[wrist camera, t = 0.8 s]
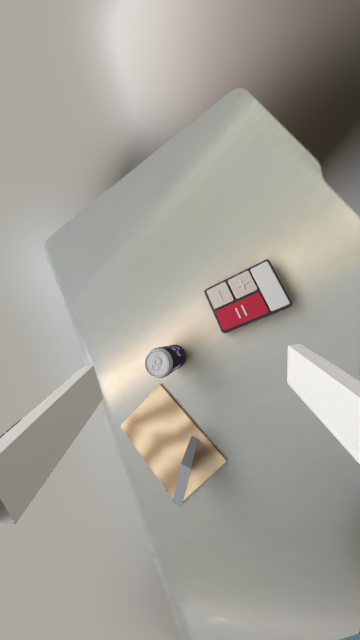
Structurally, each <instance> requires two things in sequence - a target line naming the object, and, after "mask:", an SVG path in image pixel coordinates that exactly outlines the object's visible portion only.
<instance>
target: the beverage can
mask: <svg viewBox="0 0 360 640" xmlns="http://www.w3.org/2000/svg"><path fill="white" fill-rule="evenodd" d="M185 360H186V353H185V351H184V349H183V348H182V347H180V346H178V345H170V346H165V347H159V348H155V349H153V350H152V351H151V352H150V353H149V354H148V355H147V357H146V360H145V367H146V370H147V371H148V373H149V374H150V375H152V376H154V377H159V378H162V377H166V376H167V375H169V374H170V373H172V372H173V371H175V370H176V369H178V368H179V367H181V366H182V365H183V364H184V363H185Z"/></svg>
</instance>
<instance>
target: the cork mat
mask: <svg viewBox="0 0 360 640" xmlns="http://www.w3.org/2000/svg"><path fill="white" fill-rule="evenodd" d="M121 428H122V429H123V430H124V432H125V433H126V435H127V436H128V437H129V439H130V440H131V441H132V443H133V444H134V446H135V447H136V448H137V450H138V451H139V452H140V454H141V455H142V457H143V458H144V459H145V461H146V462H147V463H148V465H149V466H150V468H151V469H152V470H153V472H154V473H155V475H156V476H157V477H158V479H159V480H160V481H161V483H162V484H163V486H164V487H165V488H166V490H167V491H168V492H169V494H170V495H171V497H172V498H173V496H174V492H175V488H176V483H177V479H178V475H179V470H180V466H181V462H182V460H183V457H184V454H185V452H186V449H187V446H188V443H189V441H190V438H191V436H193V437H195V438H197V439H199V440H198V444H197V449H196V453H195V458H194V462H193V466H192V470H191V474H190V478H189V481H188V485H187V489H186V492H185V496H184V500H185V499H186V498H187V497H188V496H189V495H190V494H191V493H192V492H193V491H195V490H196V489H197V488H198V487H199V486H200V485H201V484H202V483H203V482H205V481H206V480H207V479H208V478H209V477H210V476H211V475H212V474H213V473H214V472H216V471H217V470H218V469H219V468H220V467H221V466H222V465H223V464H224V463H226V459H225V457H224V456H223V455H222V454H221V453H220V452H219V451H218V449H217V448H216V447H215V446H214V445H213V444H212V442H211V441H210V440H209V439H208V438H207V437H206V436H205V434H204V433H203V432H202V431H201V430H200V429H199V428H198V426H197V425H196V424H195V423H194V422H193V421H192V419H191V418H190V417H189V416H188V415H187V414H186V413H185V411H184V410H183V409H182V408H181V407H180V406H179V404H178V403H177V402H176V401H175V400H174V399H173V398H172V396H171V395H170V394H169V393H168V392H167V391H166V389H165V388H164V387H163V386H162V385H161V384H160V385H159V386H158V387H157V388H156V389H155V390H154V391H153V392H152V393H151V394H150V395H149V396H148V398H147V399H146V400H145V401H144V402H143V403H142V404H141V405H140V406H139V407H138V408H137V409H136V410H135V411H134V412H133V413H132V414H131V416H130V417H129V418H128V419H127V420H126V421H125V422H124V423H123V424H122V425H121Z"/></svg>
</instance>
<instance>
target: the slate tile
mask: <svg viewBox="0 0 360 640" xmlns="http://www.w3.org/2000/svg"><path fill="white" fill-rule="evenodd" d="M198 440H199V439H197V438H195V437H193V436H191V438H190V441H189V443H188V446H187V449H186V452H185V454H184V457H183V460H182V462H181V466H180V470H179V475H178V479H177V483H176V488H175V492H174V496H173V501H172V502H173V503H175V504H177V505H179V506H180V507H182V503H183V500H184V496H185V492H186V489H187V485H188V481H189V478H190V474H191V470H192V466H193V462H194V458H195V453H196V449H197V444H198Z"/></svg>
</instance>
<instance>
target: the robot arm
mask: <svg viewBox="0 0 360 640" xmlns="http://www.w3.org/2000/svg"><path fill="white" fill-rule="evenodd" d="M287 383H288V384H289V385H290V386H291V388H292V389H293V390H294V391H295V392H296V393H297V394H298V395H299V397H300V398H301V399H302V400H303V401H304V402H305V403H306V404H307V406H308V407H309V408H310V409H311V410H312V411H313V412H314V413H315V415H316V416H317V417H318V418H319V419H320V420H321V421H322V422H323V424H324V425H325V426H326V427H327V428H328V429H329V430H330V431H331V432H332V434H333V435H334V436H335V437H336V438H337V439H338V440H339V441H340V443H341V444H342V445H343V446H344V447H345V448H346V449H347V450H348V452H349V453H350V454H351V455H352V456H353V457H354V458H355V459H356V461H357V462H358V463H359V464H360V381H358V380H357V379H355V378H354V377H352V376H350V375H349V374H347V373H346V372H344V371H343V370H341V369H339V368H338V367H336V366H335V365H333V364H332V363H330V362H328V361H327V360H325V359H324V358H322V357H320V356H319V355H317V354H316V353H314V352H313V351H311V350H309V349H308V348H306V347H305V346H303V345H302V344H295V345H288V370H287ZM102 399H103V395H102V392H101V389H100V385H99V382H98V379H97V375H96V372H95V369H94V365H92V366H83V367H82V368H81V369H80V370H79V371H78V372H76V373H75V374H74V375H73V376H72V377H70V378H69V379H68V380H67V381H66V382H65V383H64V384H62V385H61V386H60V387H59V388H58V389H57V390H55V391H54V392H53V393H52V394H51V395H50V396H48V398H46V399H45V400H44V401H43V402H42V403H40V404H39V405H38V406H37V407H36V408H35V409H34V410H32V411H31V412H30V413H29V414H28V415H26V416H25V417H24V418H23V419H21V420H20V421H18V422H17V423H16V424H15V425H13V426H12V427H11V428H10V429H9V430H8V431H7V432H6V433H4V434H3V435H2V436H1V437H0V524H16V523H17V521H18V520H19V518H20V517H21V515H22V514H23V512H24V511H25V509H26V508H27V507H28V505H29V504H30V502H31V501H32V500H33V498H34V497H35V495H36V494H37V492H38V491H39V489H40V488H41V487H42V485H43V484H44V482H45V481H46V480H47V478H48V477H49V475H50V474H51V472H52V471H53V469H54V468H55V467H56V465H57V464H58V462H59V461H60V460H61V458H62V457H63V455H64V454H65V452H66V451H67V449H68V448H69V447H70V445H71V444H72V442H73V441H74V440H75V438H76V436H77V435H78V433H79V432H80V431H81V429H82V428H83V427H84V425H85V424H86V422H87V421H88V419H89V418H90V417H91V415H92V414H93V412H94V411H95V409H96V408H97V407H98V405H99V404H100V402H101V401H102ZM340 640H360V632H359V634H357V635H353V636H350V637H346V638H343V639H340Z"/></svg>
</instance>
